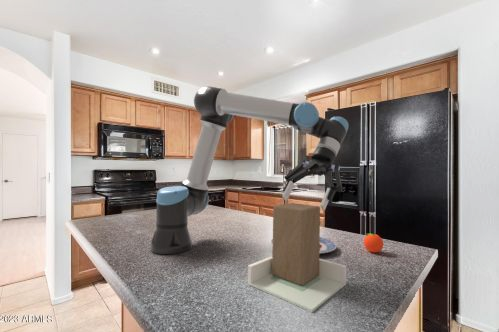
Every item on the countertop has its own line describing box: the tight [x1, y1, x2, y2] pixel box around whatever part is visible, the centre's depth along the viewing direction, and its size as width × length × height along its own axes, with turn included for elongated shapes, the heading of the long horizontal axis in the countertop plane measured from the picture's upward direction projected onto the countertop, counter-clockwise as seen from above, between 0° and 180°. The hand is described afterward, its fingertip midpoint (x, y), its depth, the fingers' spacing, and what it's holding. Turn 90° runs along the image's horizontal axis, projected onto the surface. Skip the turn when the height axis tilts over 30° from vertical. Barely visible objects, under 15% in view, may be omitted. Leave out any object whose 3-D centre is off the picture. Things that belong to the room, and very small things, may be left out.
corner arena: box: [247, 255, 347, 313], centre depth 68 cm, size 19×19×5 cm
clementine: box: [361, 233, 384, 254], centre depth 98 cm, size 8×7×7 cm
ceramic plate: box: [270, 236, 338, 255], centre depth 101 cm, size 26×26×3 cm
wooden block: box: [271, 202, 321, 286], centre depth 72 cm, size 10×10×20 cm
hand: (302, 203), depth 80 cm, fingers open, 13 cm apart
